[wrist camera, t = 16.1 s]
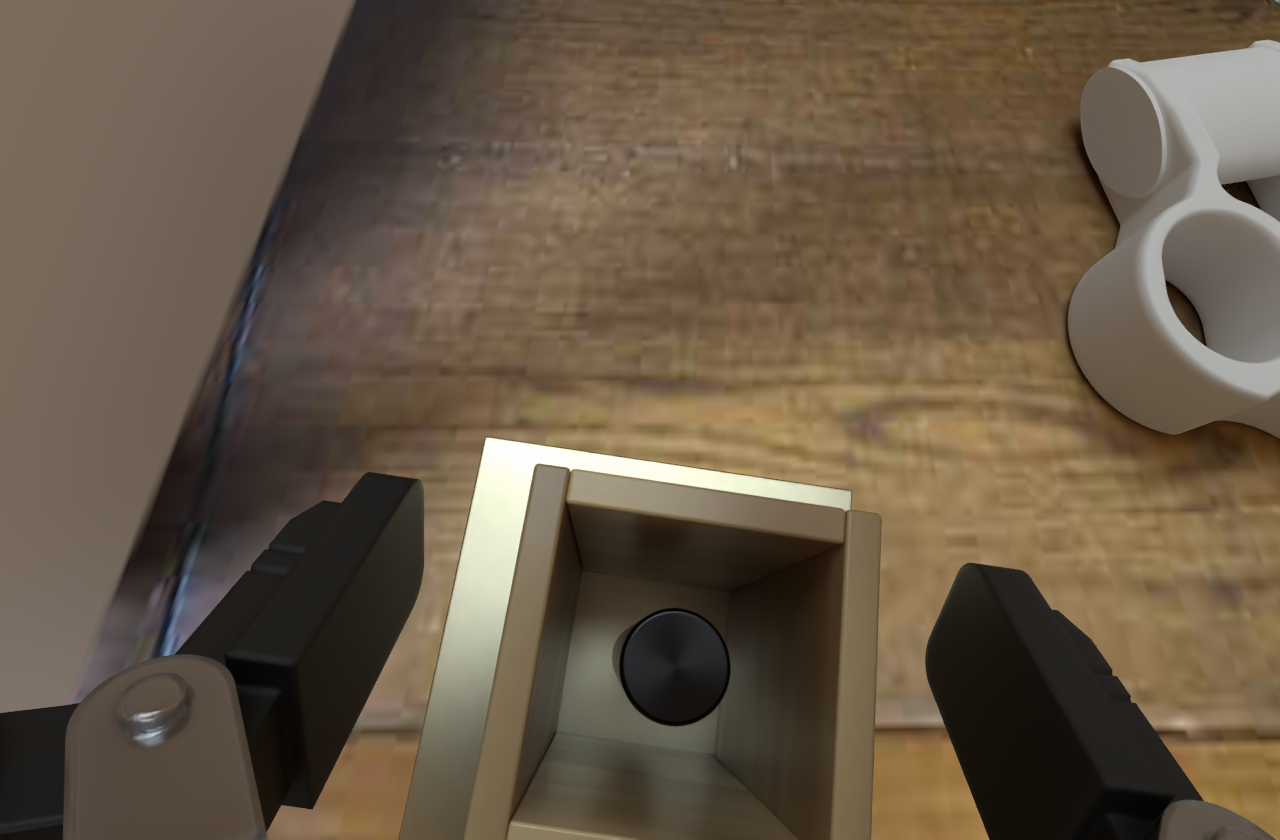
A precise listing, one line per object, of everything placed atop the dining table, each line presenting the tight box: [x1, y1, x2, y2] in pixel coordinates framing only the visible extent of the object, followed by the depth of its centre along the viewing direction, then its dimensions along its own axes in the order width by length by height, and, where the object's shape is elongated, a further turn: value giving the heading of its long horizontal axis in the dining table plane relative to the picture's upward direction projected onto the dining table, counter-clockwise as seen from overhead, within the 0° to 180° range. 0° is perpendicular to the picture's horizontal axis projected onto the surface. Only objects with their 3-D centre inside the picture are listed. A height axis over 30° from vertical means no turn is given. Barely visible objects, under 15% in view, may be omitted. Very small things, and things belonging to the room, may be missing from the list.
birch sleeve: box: [463, 463, 882, 840], centre depth 13 cm, size 5×5×9 cm
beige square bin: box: [398, 437, 852, 840], centre depth 14 cm, size 10×10×9 cm
